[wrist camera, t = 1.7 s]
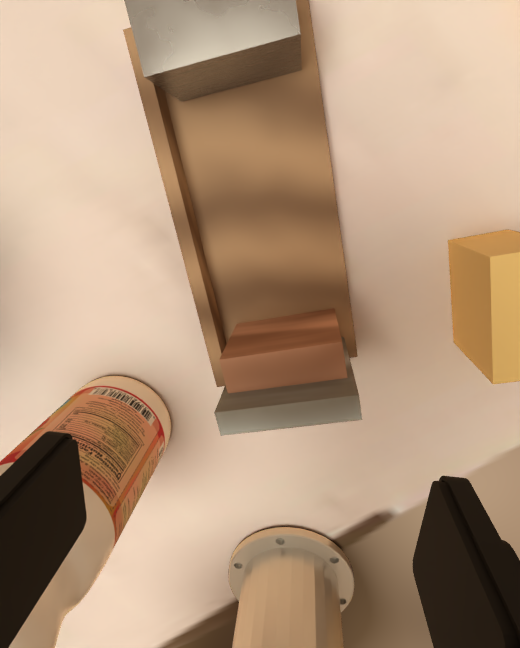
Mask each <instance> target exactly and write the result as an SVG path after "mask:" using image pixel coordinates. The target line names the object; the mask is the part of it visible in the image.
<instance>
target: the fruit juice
mask: <svg viewBox="0 0 520 648" xmlns="http://www.w3.org/2000/svg"><path fill="white" fill-rule="evenodd" d="M48 431H53V432H62V433H69V434H71V436H72V438H73V439H74V440H76V441H77V443H78V449H79V457H80V465H81V474H82V482H83V490H84V498H85V506H86V514H87V519H86V524H85V527H84V529H83V531H82V533H81V534H80V536H79V537H78V539H77V541H76V542H75V544H74V545H73V547H72V549H71V550H70V552H69V553H68V555H67V556H66V558H65V560H64V561H63V563H62V564H61V566H60V567H59V569H58V571H57V572H56V574H55V575H54V577H53V578H52V580H51V582H50V583H49V585H48V586H47V588H46V589H45V591H44V593H43V594H42V596H41V597H40V599H39V601H38V602H37V604H36V605H35V607H34V608H33V610H32V612H31V613H30V615H29V616H28V618H27V619H26V621H25V623H24V624H23V626H22V627H21V629H20V630H19V632H18V634H17V635H16V637H15V638H14V640H13V641H12V643H11V645H10V646H9V648H55V645H56V642H57V638H58V635H59V631H60V628H61V624H62V621H63V619H64V617H65V616H66V615H67V613H69V612H70V611H71V610H72V609H73V608H74V607H75V606H77V605H78V604H79V603H80V601H81V600H82V599H83V598H84V597H85V595H86V594H87V593H88V591H89V590H90V588H91V587H92V585H93V584H94V582H95V581H96V579H97V577H98V576H99V574H100V572H101V571H102V569H103V567H104V566H105V564H106V562H107V560H108V558H109V556H110V554H111V552H112V550H113V548H114V546H115V544H116V542H117V540H118V539H119V537H120V535H121V533H122V531H123V529H124V527H125V525H126V523H127V521H128V520H129V518H130V516H131V514H132V512H133V510H134V508H135V506H136V504H137V503H138V501H139V499H140V497H141V495H142V493H143V491H144V489H145V487H146V485H147V484H148V482H149V480H150V478H151V476H152V474H153V472H154V470H155V468H156V466H157V464H158V463H159V461H160V459H161V457H162V455H163V453H164V451H165V449H166V447H167V444H168V441H169V438H170V432H171V422H170V417H169V413H168V410H167V408H166V406H165V404H164V403H163V401H162V400H161V398H160V397H159V396H158V395H157V394H156V393H155V392H154V391H153V390H152V389H151V388H149V387H148V386H146V385H145V384H143V383H141V382H139V381H137V380H135V379H132V378H128V377H123V376H107V377H102V378H99V379H96V380H93V381H91V382H90V383H88V384H86V385H85V386H83V387H82V388H81V389H79V390H78V391H77V392H76V393H75V394H74V395H73V396H72V397H71V398H69V399H68V400H67V401H66V402H65V403H64V404H63V405H62V406H61V407H60V408H58V409H57V410H56V411H55V412H54V413H53V414H52V415H51V416H50V417H49V418H48V419H46V420H45V421H44V422H43V423H42V424H41V425H40V426H39V427H38V428H37V429H35V430H34V431H33V432H32V433H31V434H30V435H29V436H28V437H27V438H26V439H25V440H23V441H22V442H21V443H20V444H19V445H18V446H17V447H16V448H15V449H14V450H13V451H11V452H10V453H9V454H8V455H7V456H6V457H5V458H4V459H3V460H2V461H0V476H1V475H2V474H3V473H4V472H5V471H6V470H7V469H8V468H9V467H10V466H11V465H12V464H13V463H14V462H15V461H16V460H17V459H18V458H19V457H20V456H21V455H22V454H23V453H24V452H25V451H26V450H28V449H29V448H30V447H31V446H32V445H33V444H34V443H35V442H36V441H37V440H38V439H39V438H40V437H41V436H42V435H43V434H44V433H46V432H48Z"/></svg>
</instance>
